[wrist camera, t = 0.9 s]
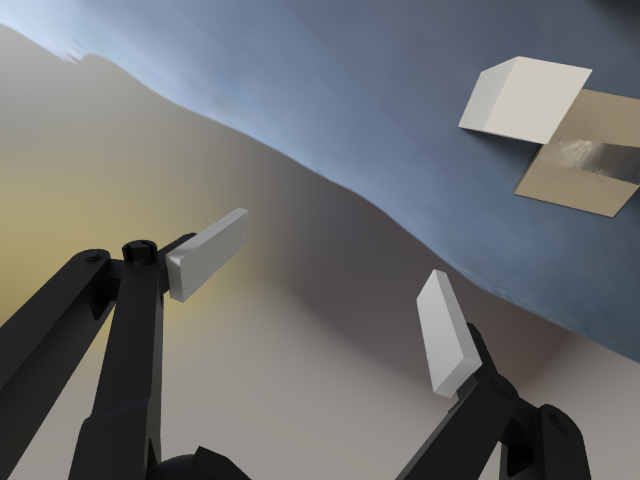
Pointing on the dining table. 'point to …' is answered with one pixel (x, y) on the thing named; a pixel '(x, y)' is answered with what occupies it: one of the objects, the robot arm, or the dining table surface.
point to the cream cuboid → (523, 98)
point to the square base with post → (589, 156)
